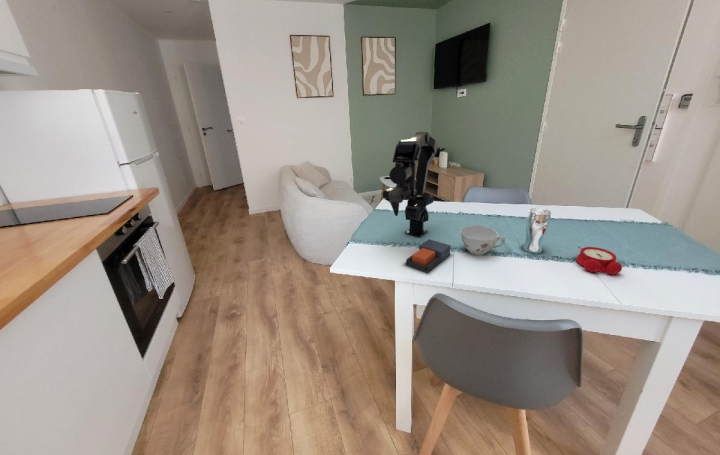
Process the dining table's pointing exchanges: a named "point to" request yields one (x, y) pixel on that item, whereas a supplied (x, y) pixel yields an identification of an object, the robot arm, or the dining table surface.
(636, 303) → the dining table surface
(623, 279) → the dining table surface
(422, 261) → the orange block
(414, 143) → the robot arm
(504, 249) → the dining table surface
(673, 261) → the dining table surface
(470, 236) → the teacup
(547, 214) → the beer glass
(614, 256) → the alarm clock
